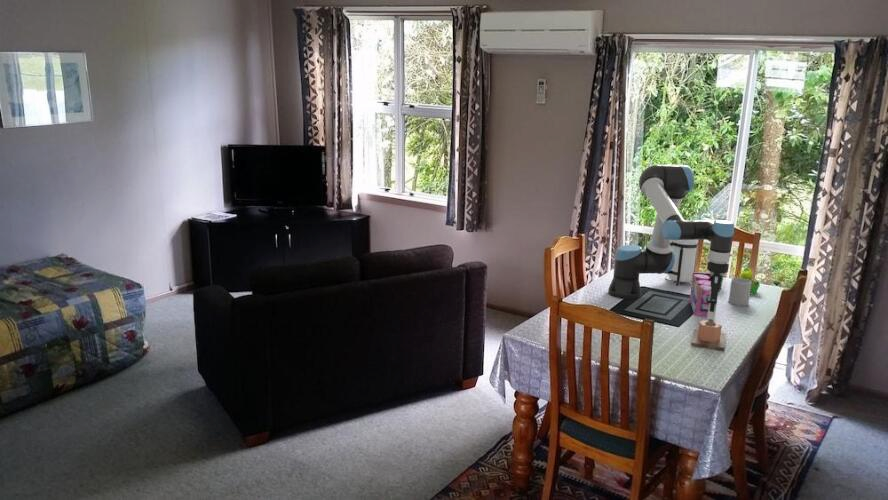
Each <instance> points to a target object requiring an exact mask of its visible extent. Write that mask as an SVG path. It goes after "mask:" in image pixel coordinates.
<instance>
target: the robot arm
mask: <svg viewBox="0 0 888 500" xmlns="http://www.w3.org/2000/svg"><path fill="white" fill-rule="evenodd" d="M694 176H695V175H694V172H693V170H692V168H691V167H690V166H689V165H685V164H653V165H650V166H648V167H646V168H645V169H644V170H643V171H642V173H641V174H640V176H639V178H638V179H639V180H638V187H639V190H640V193H642V195H643V196H645V197H647V198H648V200H649V202H650V204H651V205H652V207H653V209H654V210H655V212H656V218H655V222H654V224H653V225H654V226H653V230H652V234H651V239H650V241H648V242H647V243H646V246H645V248H643V247H642V246H640V245H637V244H625V245H621V246H619V247H618V248H617V249H616V250H615V256H614V267H613V268H614V269H613V277H612V280H611V282H610V285H609V287H608V291H607V294H608V295H609V296H611V297H612V298H616V299H622V300H637V299H640V298H641V297H642V288H641V284H640V274H642V275H643V274H657V275H660V274H665V273H667V272H669V271H671V269H672V268H673V266H674V262H675V259H674V258H675V254H674V252H673V250H672V247H671V246H670V242H671V243H672V240H698V241H699V240H702V241H703V240H704V241H705V240H706V241H708V242H709V251H708V261H707V267H706V269H707V271H709V273H710V272H713V274H711V285H710V286H711V292H710V299H709V301H708V302H707V303H709V306H708V314H707V317H706V320H708V319H713V320H714V321H715V318H716V317H715V316H716V312H717V304H718V295H719V293H720V291H721V289H719V288H720V283H721V281H722V275H720V274H721V273H725V274H726V273H728V272H729V267H730V259H731V257H733V255H732V253H731V251H732V246H733V240H734V234H735V224H734V222H732V221H729V220H725V219H724V220H723V219H719V220H718V219H717V220H714V219H710V218H707V217H704V218H703V217H702V218H701V219H699V220H691V219H690V220H685V219H684V217H683V216H682V215H681V213H680V211H679V210H680V209H679V208H680V205H681V201H682V200H683V199H685V198H686V195H687V193H689V192H692V191H693V190H694V187H695V177H694ZM722 282H723V281H722Z"/></svg>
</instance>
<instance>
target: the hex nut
mask: <svg viewBox="0 0 888 500" xmlns="http://www.w3.org/2000/svg"><path fill="white" fill-rule="evenodd" d="M707 323H708V319H704V320H701V321H700V322H698V328H697V329H698V337H699V338H700V339H701V340H703V341H709V342H716V341H718V340H720V336H721V333H722V329H723V325H722V324H720V323H719V322H717V321H715V320H714V324H713V326H710V325H707Z"/></svg>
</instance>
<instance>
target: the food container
mask: <svg viewBox="0 0 888 500" xmlns="http://www.w3.org/2000/svg"><path fill="white" fill-rule="evenodd" d="M709 274H710V275H711V274H713V272H710V271H709ZM720 275H722V281H721V283H720V288H719V289H720V290H721V289H722V286H723V285H722V284H723V281H724V276H725V275H726V273H721V274H720Z"/></svg>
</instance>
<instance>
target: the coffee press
mask: <svg viewBox="0 0 888 500" xmlns="http://www.w3.org/2000/svg"><path fill="white" fill-rule="evenodd" d="M670 246H671V247H672V250H673V252H674V254H675V258H674V259H675V262H674V266H673V268H672V269H671V271H669V272H667V273H664V274H665V275H667V276H668V278H667V277H665V278H664V279H665V281H668V280H671V281H674V282H675V286H678V287H679V286H680V283H691V284H692V275H693V272H696V266H697V265H696V264H697V256H698V249H699V248H698V247H699V240H671V242H670Z"/></svg>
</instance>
